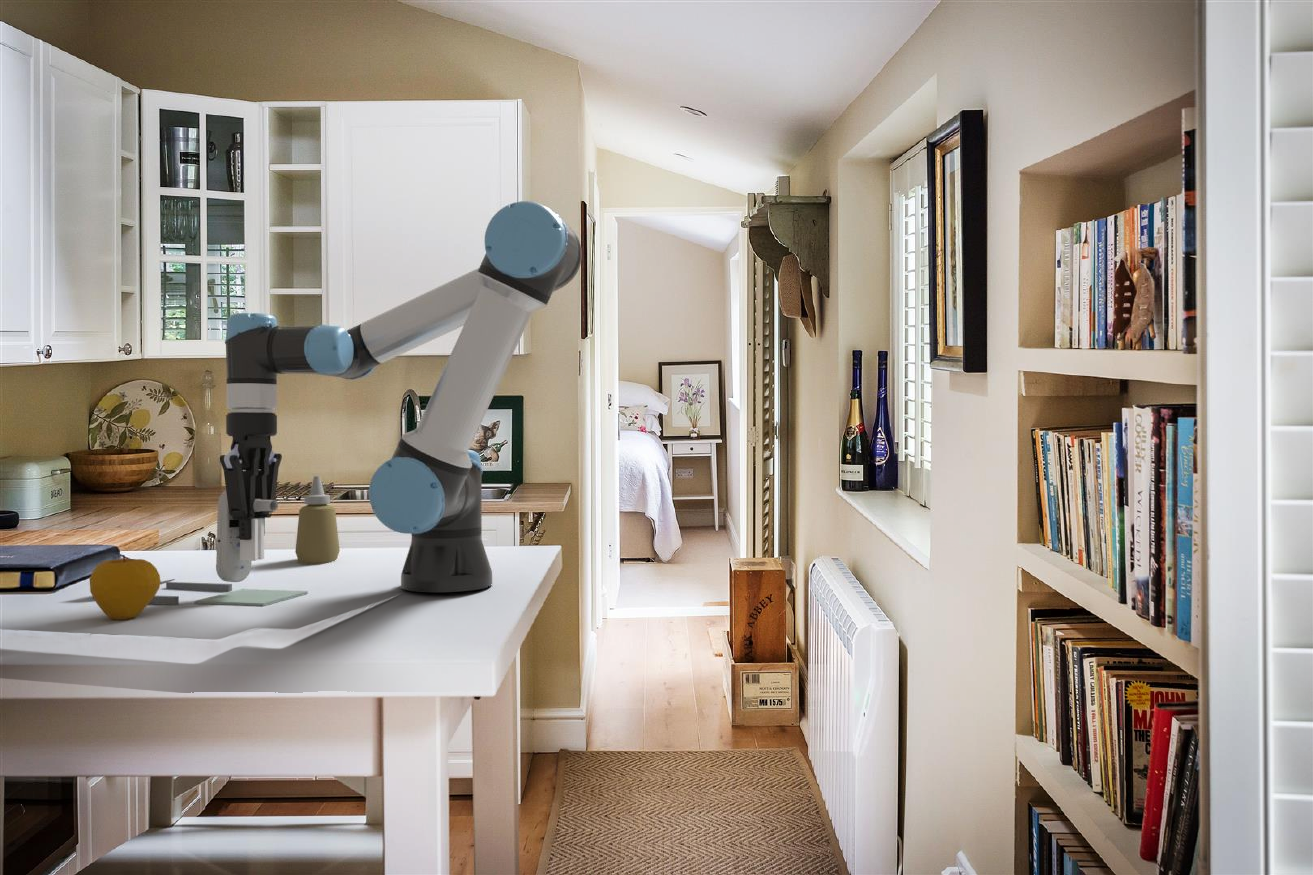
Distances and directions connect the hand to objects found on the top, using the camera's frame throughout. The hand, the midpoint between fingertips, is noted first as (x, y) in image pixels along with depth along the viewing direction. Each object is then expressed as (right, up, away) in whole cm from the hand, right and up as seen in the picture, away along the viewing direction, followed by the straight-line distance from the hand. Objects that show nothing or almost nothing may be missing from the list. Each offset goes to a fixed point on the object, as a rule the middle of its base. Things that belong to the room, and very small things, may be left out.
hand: (252, 559), depth 161 cm
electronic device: (0, -4, -1) cm, 4 cm away
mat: (0, -6, 0) cm, 6 cm away
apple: (-12, -7, -17) cm, 21 cm away
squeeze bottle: (-1, -6, +33) cm, 34 cm away
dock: (-16, -6, +5) cm, 18 cm away
